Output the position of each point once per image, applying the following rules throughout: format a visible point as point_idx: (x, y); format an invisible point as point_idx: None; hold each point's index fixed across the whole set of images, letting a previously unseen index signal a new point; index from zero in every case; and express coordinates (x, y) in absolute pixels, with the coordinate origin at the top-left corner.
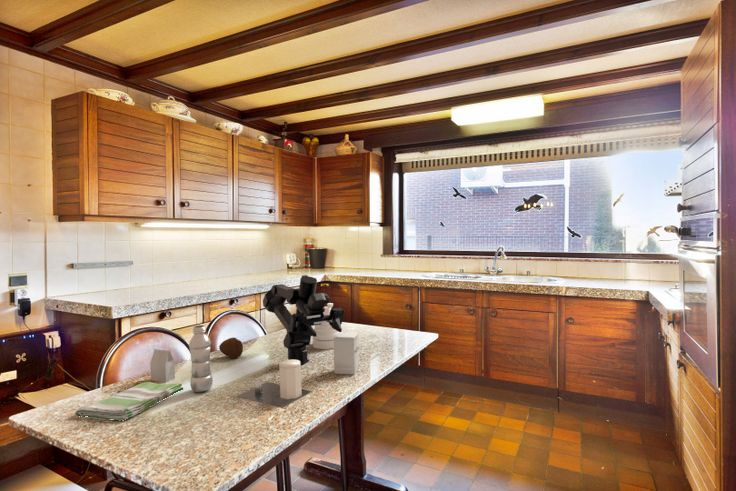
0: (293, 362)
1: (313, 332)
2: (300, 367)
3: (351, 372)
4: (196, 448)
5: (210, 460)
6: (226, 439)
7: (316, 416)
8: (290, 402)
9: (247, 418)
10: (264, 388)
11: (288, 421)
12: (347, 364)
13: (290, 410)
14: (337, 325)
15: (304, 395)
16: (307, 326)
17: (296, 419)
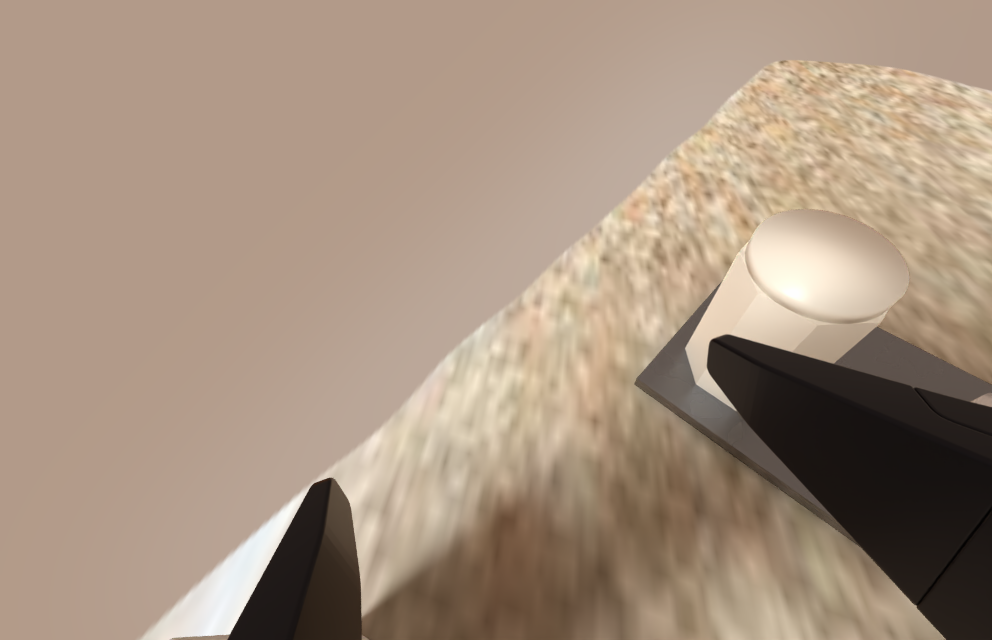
0: (800, 252)
1: (765, 347)
2: (736, 258)
3: (363, 638)
4: (913, 138)
5: (839, 103)
6: (853, 157)
7: (610, 214)
8: None
9: None
10: None
11: (697, 204)
12: None
13: (708, 263)
14: (318, 610)
15: (671, 341)
16: (961, 400)
17: (673, 209)
